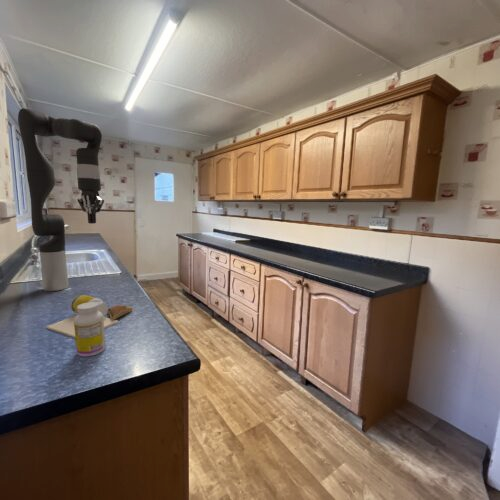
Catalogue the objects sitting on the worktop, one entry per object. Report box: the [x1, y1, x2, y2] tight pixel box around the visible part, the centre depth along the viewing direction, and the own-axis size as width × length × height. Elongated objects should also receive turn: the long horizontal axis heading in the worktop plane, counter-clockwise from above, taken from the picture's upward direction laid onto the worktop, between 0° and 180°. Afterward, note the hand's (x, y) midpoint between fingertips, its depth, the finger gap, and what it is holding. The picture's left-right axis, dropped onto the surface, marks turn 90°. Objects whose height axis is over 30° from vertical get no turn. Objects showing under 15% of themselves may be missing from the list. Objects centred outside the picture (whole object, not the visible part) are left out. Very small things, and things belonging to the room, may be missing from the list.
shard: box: [107, 304, 133, 320], centre depth 95 cm, size 11×8×2 cm
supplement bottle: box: [74, 302, 106, 357], centre depth 71 cm, size 7×7×13 cm
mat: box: [45, 314, 119, 339], centre depth 87 cm, size 16×13×1 cm
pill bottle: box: [70, 294, 109, 317], centre depth 93 cm, size 6×6×12 cm
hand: (92, 223), depth 106 cm, fingers closed
